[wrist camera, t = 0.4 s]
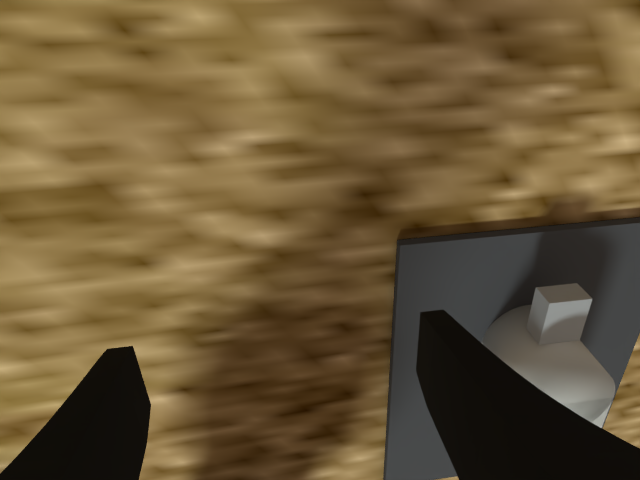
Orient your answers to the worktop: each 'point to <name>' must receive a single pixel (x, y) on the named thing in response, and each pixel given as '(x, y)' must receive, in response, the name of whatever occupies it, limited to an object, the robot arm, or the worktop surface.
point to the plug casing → (554, 350)
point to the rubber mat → (502, 310)
